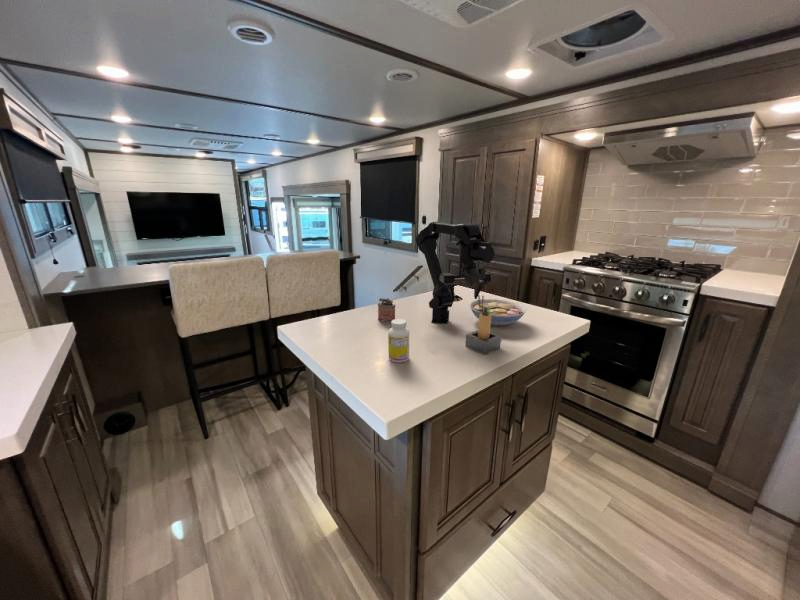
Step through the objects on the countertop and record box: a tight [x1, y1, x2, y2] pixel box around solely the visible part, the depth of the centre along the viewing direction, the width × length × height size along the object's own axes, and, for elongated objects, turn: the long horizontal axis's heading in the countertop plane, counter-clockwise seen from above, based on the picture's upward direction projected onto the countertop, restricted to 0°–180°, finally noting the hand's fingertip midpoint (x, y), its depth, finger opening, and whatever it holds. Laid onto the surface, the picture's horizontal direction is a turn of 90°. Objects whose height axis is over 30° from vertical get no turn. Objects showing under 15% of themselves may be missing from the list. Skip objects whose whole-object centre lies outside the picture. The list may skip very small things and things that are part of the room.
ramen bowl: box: [469, 295, 527, 327], centre depth 131 cm, size 25×23×8 cm
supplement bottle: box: [387, 318, 410, 364], centre depth 99 cm, size 7×7×13 cm
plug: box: [477, 307, 492, 340], centre depth 107 cm, size 4×4×15 cm
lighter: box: [377, 297, 396, 324], centre depth 132 cm, size 8×3×10 cm, turn 65°
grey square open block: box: [465, 329, 502, 356], centre depth 109 cm, size 8×8×4 cm
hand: (464, 299), depth 120 cm, fingers open, 9 cm apart
